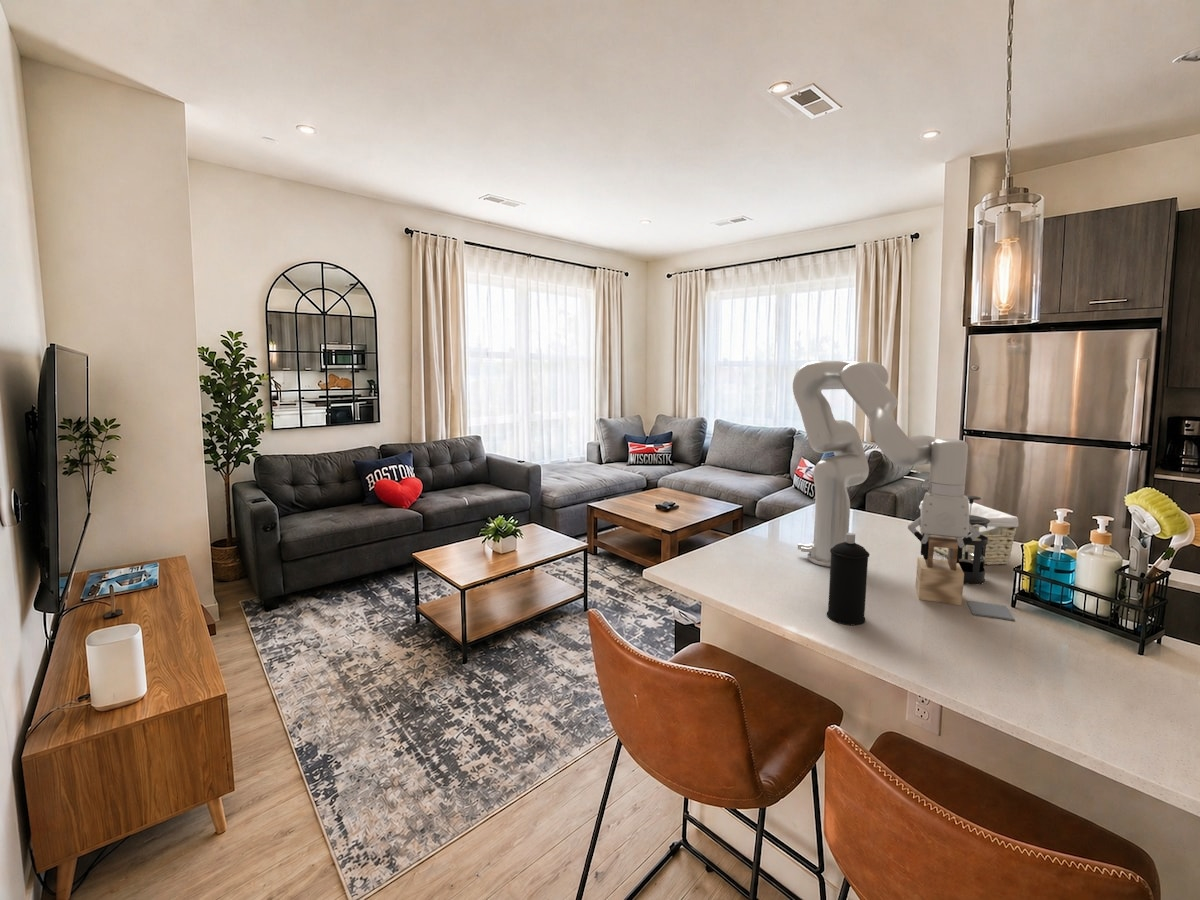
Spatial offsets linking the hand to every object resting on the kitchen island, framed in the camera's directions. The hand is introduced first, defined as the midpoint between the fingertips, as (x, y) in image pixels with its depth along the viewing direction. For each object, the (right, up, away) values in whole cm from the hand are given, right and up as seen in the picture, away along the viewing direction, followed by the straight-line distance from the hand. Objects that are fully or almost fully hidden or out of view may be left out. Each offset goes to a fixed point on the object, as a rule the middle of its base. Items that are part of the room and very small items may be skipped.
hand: (940, 559), depth 139 cm
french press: (+14, -8, +13) cm, 21 cm away
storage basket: (+27, -5, +33) cm, 43 cm away
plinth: (0, -9, +1) cm, 10 cm away
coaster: (+7, -11, -8) cm, 15 cm away
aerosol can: (-29, -12, -11) cm, 33 cm away
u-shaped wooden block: (0, -2, 0) cm, 2 cm away
